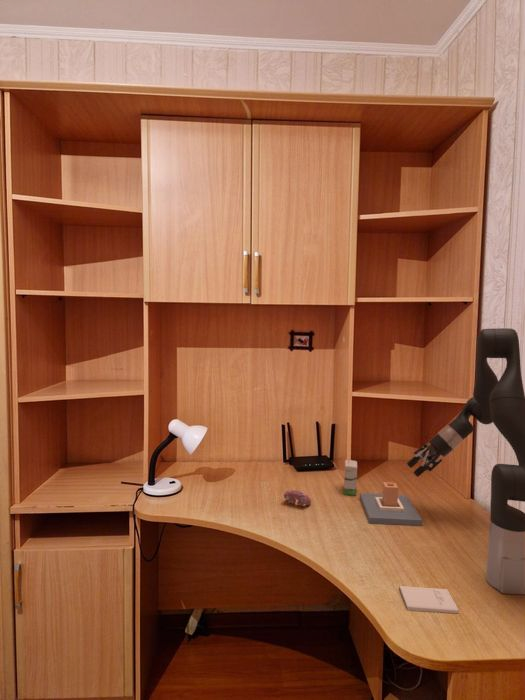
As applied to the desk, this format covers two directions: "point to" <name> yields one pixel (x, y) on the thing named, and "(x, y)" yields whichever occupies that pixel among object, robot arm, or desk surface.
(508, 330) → the robot arm
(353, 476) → the ink box
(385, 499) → the block
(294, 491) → the purple lumpy oblong
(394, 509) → the board
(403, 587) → the external hard drive
